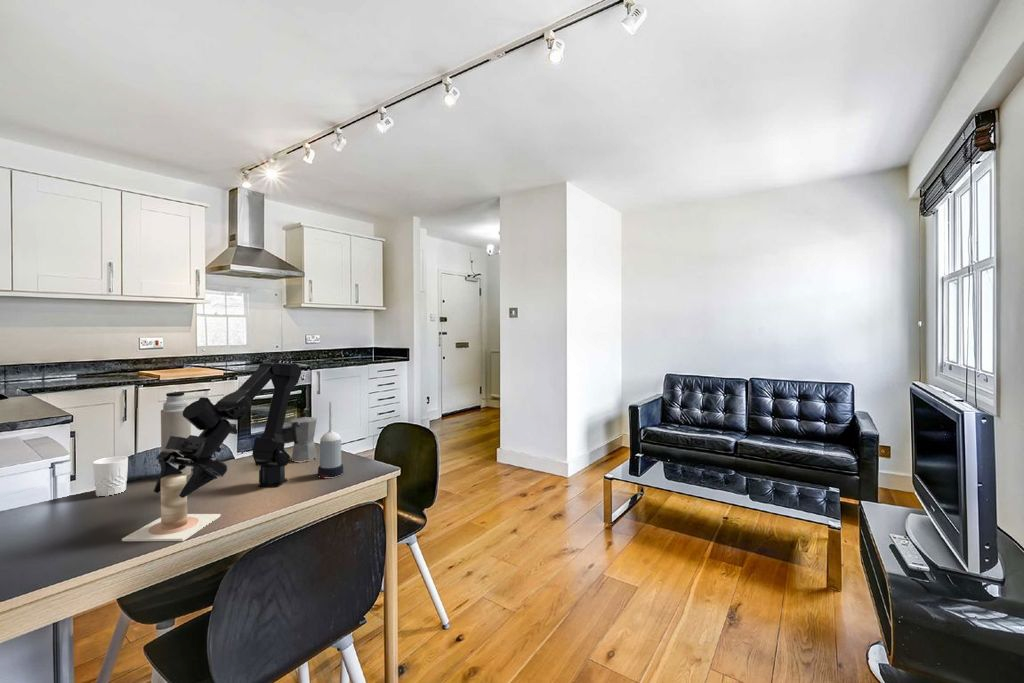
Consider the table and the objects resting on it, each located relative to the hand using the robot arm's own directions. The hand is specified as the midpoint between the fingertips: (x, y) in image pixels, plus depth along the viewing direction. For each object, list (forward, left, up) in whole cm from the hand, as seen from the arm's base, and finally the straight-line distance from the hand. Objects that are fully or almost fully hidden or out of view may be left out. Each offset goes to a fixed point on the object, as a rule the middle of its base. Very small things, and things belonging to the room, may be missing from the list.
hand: (168, 494), depth 110 cm
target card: (0, -1, -9) cm, 9 cm away
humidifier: (-23, -42, -9) cm, 49 cm away
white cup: (+36, -25, -9) cm, 45 cm away
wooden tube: (0, -1, -8) cm, 8 cm away
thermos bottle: (+28, -42, -9) cm, 51 cm away
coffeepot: (-6, -59, -9) cm, 60 cm away
